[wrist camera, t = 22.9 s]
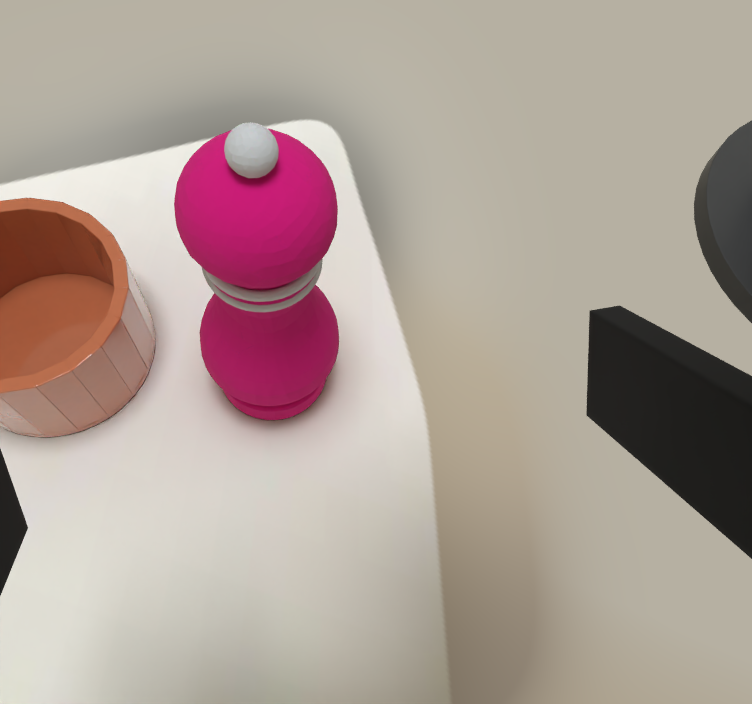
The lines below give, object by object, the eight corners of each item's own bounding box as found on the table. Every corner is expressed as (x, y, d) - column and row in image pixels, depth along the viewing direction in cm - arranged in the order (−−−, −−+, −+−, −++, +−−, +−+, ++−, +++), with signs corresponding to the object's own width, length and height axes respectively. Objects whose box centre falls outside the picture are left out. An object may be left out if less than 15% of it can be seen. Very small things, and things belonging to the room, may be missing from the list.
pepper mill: (184, 377, 39) (81, 138, 21) (267, 293, 42) (240, 16, 24) (280, 454, 38) (260, 270, 20) (359, 362, 41) (406, 126, 22)
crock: (185, 382, 39) (163, 329, 33) (-2, 472, 36) (-67, 433, 30) (112, 242, 42) (79, 169, 36) (-65, 314, 39) (-137, 248, 33)
